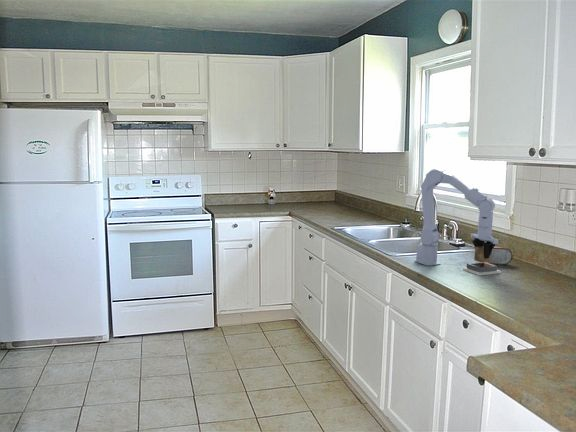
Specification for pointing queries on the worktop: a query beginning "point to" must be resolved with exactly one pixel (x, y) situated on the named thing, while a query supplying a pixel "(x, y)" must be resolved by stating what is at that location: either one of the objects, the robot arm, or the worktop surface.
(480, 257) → the plug block
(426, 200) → the robot arm
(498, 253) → the tin
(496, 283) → the worktop surface
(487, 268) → the grey tray
